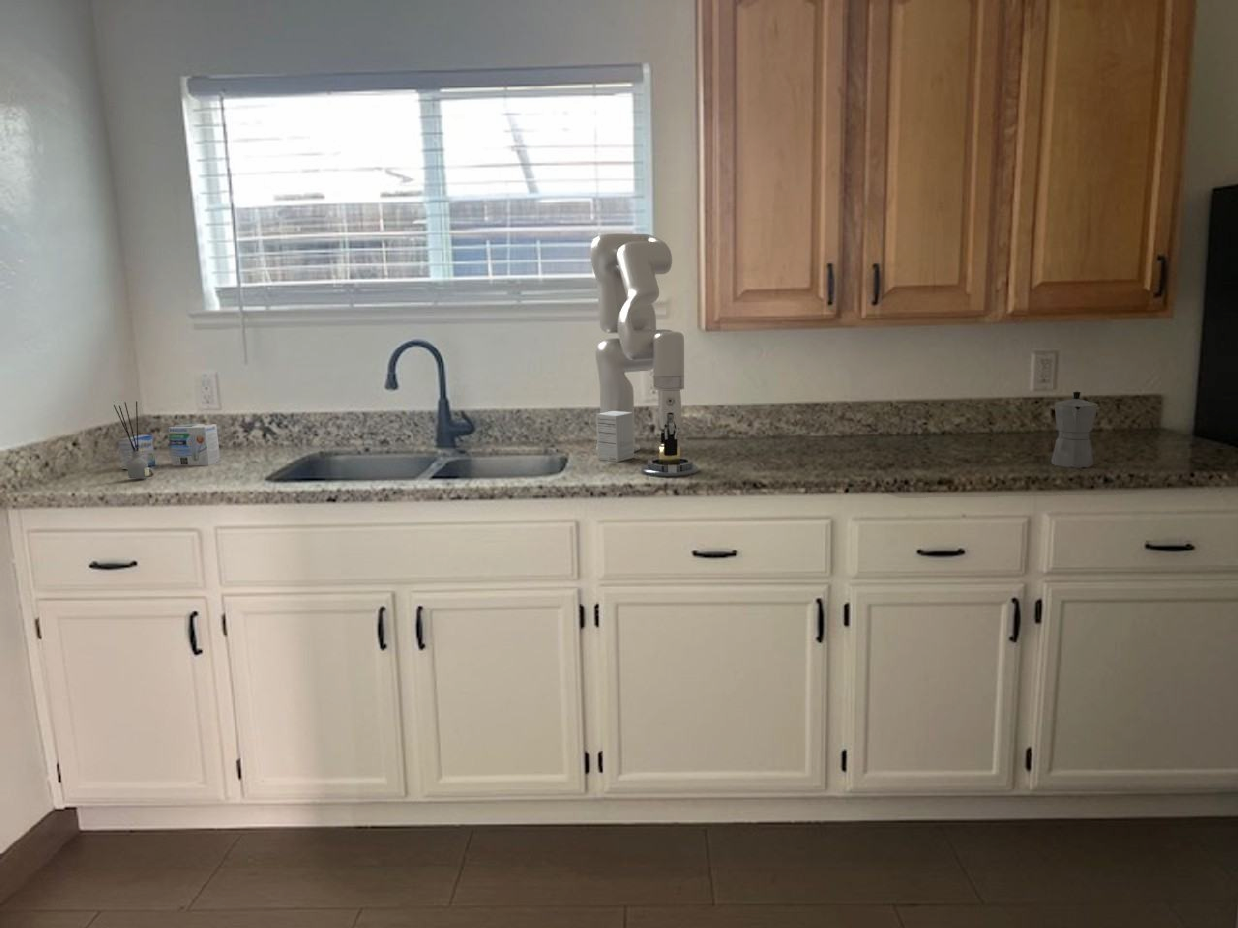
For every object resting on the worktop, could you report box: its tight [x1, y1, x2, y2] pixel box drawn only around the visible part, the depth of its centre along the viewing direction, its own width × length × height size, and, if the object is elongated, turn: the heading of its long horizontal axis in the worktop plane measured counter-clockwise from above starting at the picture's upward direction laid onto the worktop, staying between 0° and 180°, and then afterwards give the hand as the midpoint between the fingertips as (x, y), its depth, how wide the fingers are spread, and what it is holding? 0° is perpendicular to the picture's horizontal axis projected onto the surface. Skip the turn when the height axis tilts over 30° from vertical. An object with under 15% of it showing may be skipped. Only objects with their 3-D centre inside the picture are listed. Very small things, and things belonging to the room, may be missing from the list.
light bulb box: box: [168, 423, 221, 467], centre depth 246 cm, size 11×7×11 cm, turn 87°
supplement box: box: [595, 411, 635, 463], centre depth 237 cm, size 7×7×13 cm
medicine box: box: [117, 434, 156, 469], centre depth 242 cm, size 8×4×9 cm, turn 170°
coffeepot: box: [1050, 391, 1099, 469], centre depth 216 cm, size 15×9×18 cm, turn 157°
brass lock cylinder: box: [658, 442, 681, 465], centre depth 219 cm, size 5×5×6 cm
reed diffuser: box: [113, 401, 156, 479], centre depth 224 cm, size 10×7×20 cm
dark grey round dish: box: [641, 457, 699, 478], centre depth 219 cm, size 14×14×3 cm
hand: (669, 451), depth 219 cm, fingers open, 9 cm apart
